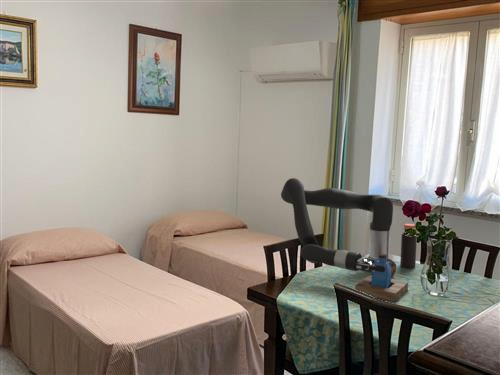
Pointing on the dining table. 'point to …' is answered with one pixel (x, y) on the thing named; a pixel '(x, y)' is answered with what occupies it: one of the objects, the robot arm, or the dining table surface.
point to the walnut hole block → (383, 289)
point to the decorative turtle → (392, 266)
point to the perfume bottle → (382, 273)
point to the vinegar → (408, 249)
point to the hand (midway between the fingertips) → (387, 267)
